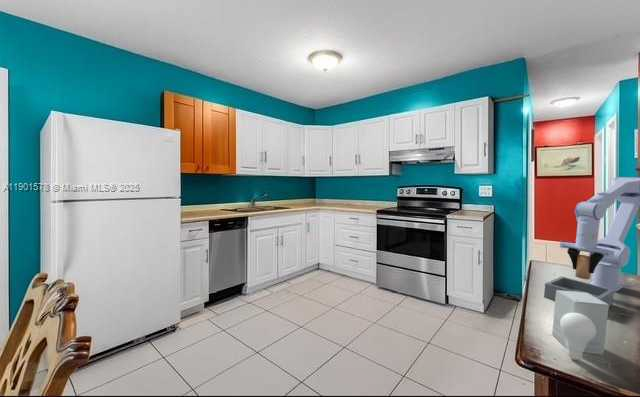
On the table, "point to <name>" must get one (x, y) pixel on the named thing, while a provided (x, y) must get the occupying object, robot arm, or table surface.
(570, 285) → the box
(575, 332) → the lightbulb
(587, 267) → the peg
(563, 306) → the supplement box
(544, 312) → the table surface
